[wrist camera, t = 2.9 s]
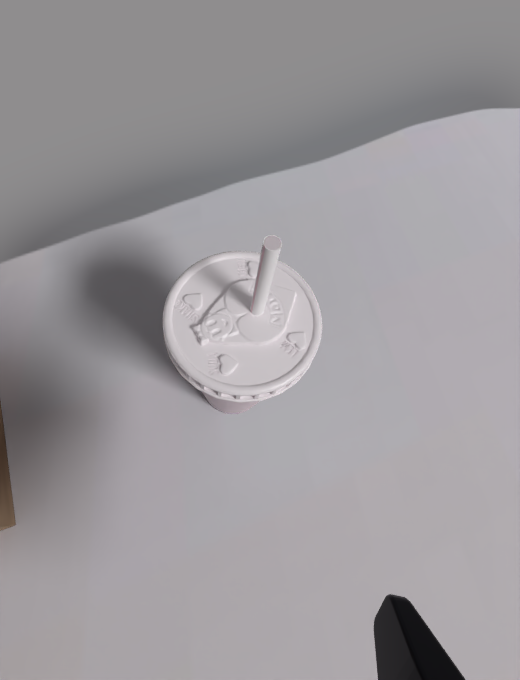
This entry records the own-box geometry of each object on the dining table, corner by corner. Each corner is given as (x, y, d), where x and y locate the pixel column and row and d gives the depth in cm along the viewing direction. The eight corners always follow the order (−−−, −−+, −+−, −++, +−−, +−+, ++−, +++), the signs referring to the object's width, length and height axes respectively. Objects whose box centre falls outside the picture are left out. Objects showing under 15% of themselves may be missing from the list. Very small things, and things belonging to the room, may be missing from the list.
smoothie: (301, 406, 24) (407, 297, 11) (208, 456, 22) (200, 397, 9) (253, 322, 25) (294, 143, 13) (163, 362, 24) (105, 201, 11)
